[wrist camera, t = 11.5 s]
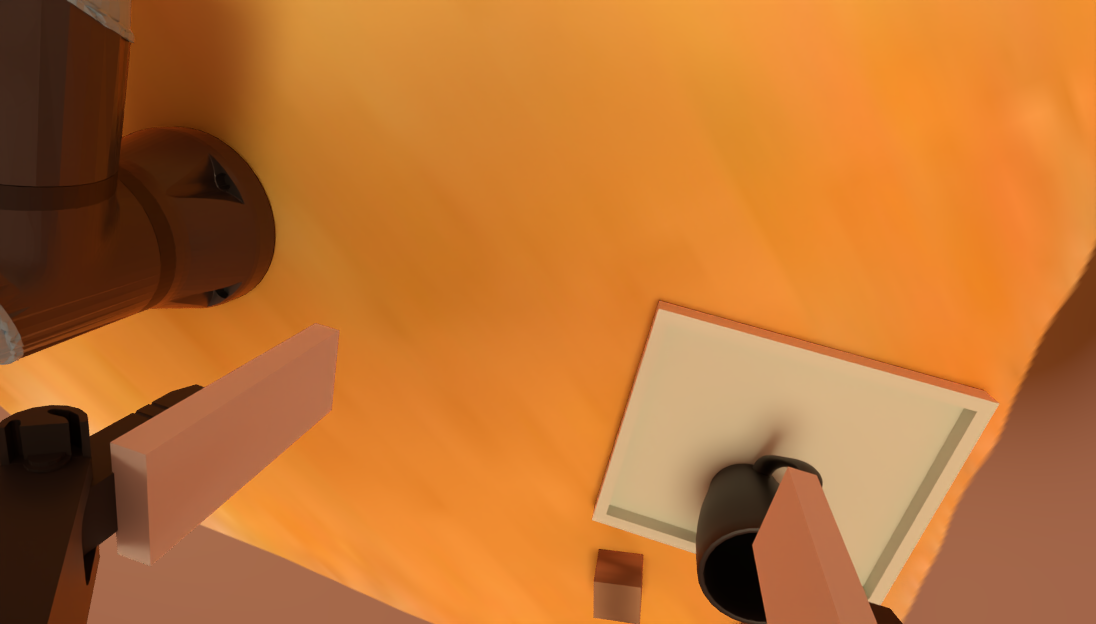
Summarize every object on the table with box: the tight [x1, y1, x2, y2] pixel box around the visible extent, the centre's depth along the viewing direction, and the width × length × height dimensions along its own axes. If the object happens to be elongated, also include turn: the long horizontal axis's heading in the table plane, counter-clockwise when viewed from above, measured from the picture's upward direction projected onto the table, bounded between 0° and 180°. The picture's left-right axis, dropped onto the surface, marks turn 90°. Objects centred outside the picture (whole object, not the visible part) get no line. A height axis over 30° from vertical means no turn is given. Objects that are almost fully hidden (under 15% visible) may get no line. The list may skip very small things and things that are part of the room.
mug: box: [696, 455, 823, 624], centre depth 42 cm, size 8×12×10 cm
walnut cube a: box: [594, 549, 643, 624], centre depth 51 cm, size 4×4×4 cm
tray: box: [592, 301, 999, 605], centre depth 45 cm, size 24×20×2 cm
